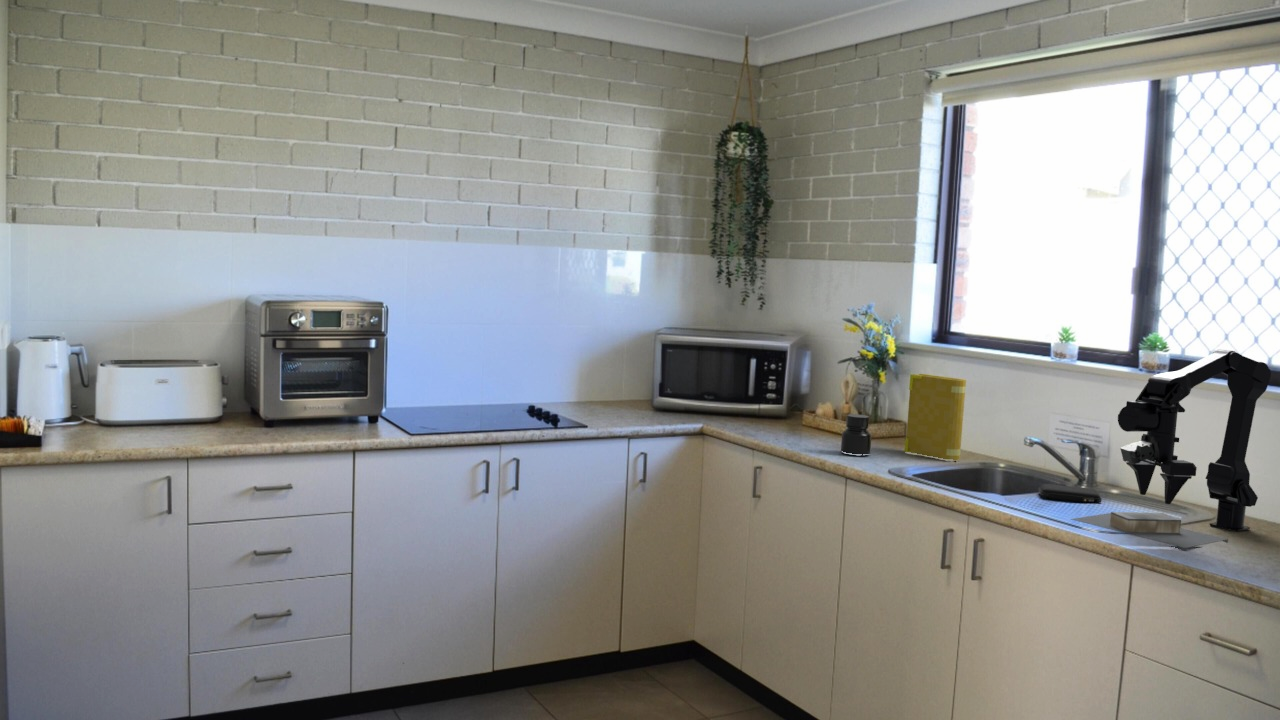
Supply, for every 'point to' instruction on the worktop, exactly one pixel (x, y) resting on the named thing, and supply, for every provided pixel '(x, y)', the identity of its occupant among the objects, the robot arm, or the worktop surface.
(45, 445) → the worktop surface
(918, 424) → the book
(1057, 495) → the carrying case or bag
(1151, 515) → the tan wooden block
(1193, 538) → the mat
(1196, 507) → the worktop surface
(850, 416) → the ink bottle
